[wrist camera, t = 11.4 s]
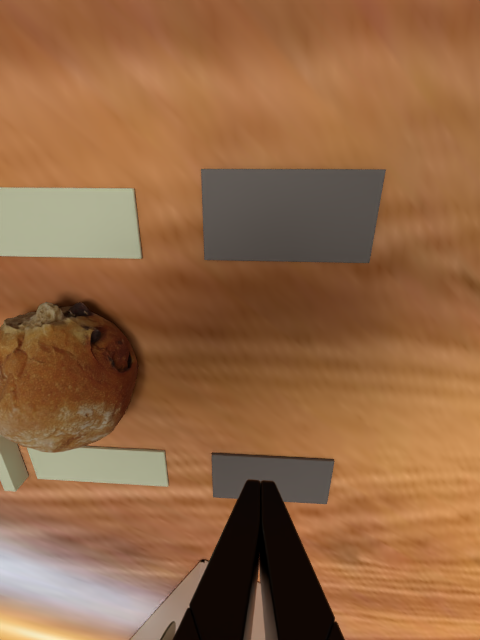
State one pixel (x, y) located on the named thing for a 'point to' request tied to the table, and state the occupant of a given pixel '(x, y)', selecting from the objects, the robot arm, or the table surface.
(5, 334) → the bread roll
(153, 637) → the gable box
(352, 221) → the trap lane
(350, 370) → the table surface
